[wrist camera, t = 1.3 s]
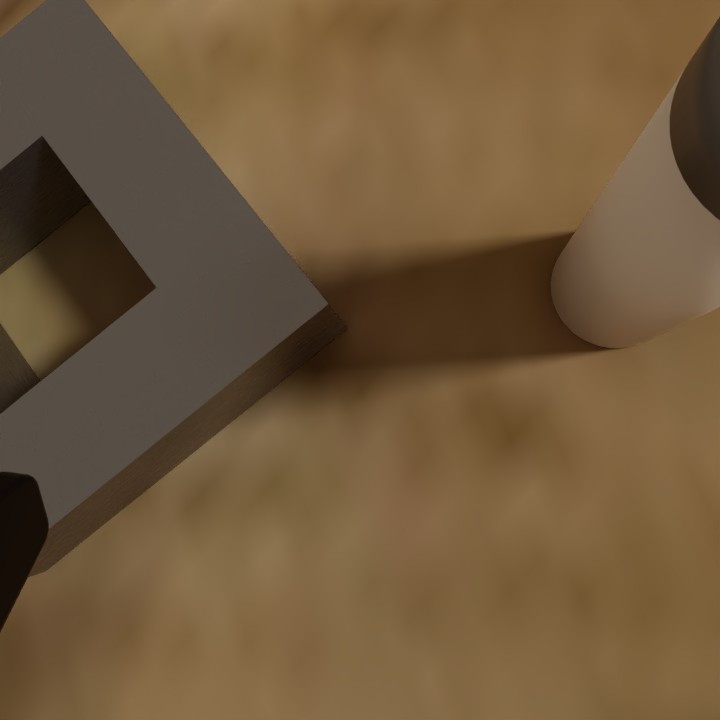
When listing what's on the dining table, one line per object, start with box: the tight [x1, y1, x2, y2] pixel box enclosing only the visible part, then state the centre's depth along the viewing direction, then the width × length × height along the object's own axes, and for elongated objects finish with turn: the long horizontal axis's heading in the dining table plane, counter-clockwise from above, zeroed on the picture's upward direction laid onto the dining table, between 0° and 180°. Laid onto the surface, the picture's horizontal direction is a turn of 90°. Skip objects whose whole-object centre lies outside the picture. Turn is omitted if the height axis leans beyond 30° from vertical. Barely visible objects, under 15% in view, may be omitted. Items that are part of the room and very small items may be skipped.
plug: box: [551, 17, 720, 348], centre depth 15 cm, size 4×4×13 cm
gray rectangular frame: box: [0, 0, 348, 577], centre depth 21 cm, size 13×13×4 cm
